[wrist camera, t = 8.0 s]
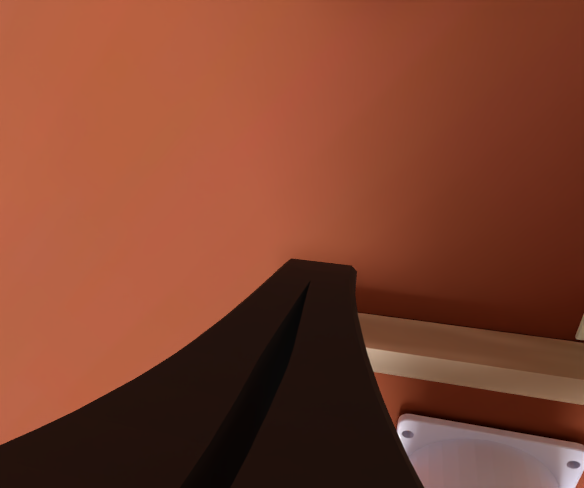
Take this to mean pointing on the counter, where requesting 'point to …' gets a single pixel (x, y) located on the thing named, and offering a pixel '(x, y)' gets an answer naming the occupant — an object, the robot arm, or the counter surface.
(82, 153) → the counter surface
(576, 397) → the lane rails
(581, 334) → the pad
